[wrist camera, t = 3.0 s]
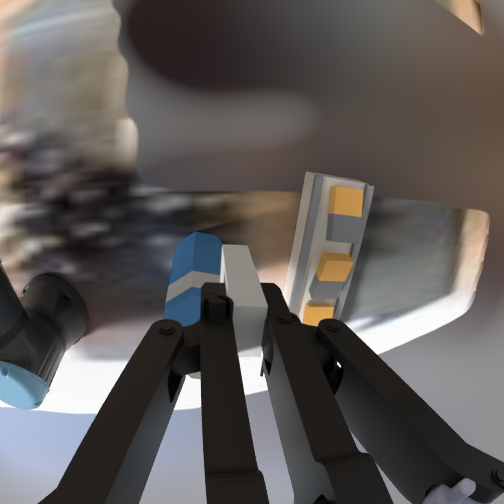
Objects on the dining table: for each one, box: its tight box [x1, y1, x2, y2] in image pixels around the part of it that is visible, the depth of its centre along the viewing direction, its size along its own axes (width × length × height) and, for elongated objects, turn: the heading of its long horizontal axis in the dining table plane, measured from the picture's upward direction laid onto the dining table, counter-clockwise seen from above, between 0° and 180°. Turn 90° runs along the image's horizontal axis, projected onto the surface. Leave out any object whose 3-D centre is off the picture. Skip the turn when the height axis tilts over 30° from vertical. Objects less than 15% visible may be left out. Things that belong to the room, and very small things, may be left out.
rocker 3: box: [303, 303, 334, 326], centre depth 51 cm, size 5×8×2 cm, turn 173°
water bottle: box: [163, 232, 224, 379], centre depth 38 cm, size 9×9×25 cm
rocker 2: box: [309, 252, 354, 299], centre depth 47 cm, size 5×8×2 cm, turn 172°
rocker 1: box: [326, 186, 363, 244], centre depth 43 cm, size 5×8×2 cm, turn 172°
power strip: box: [283, 171, 374, 323], centre depth 51 cm, size 10×30×5 cm, turn 172°
